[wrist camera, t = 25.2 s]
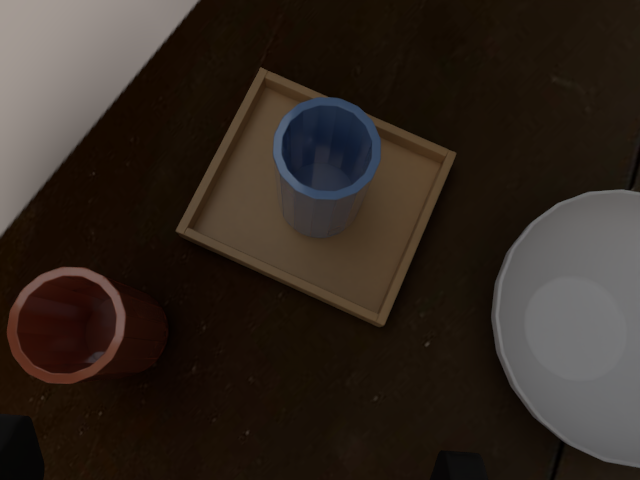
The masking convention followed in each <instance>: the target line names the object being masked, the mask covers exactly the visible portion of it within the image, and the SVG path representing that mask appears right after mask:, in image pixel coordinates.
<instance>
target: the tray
mask: <svg viewBox="0 0 640 480" xmlns="http://www.w3.org/2000/svg"><path fill="white" fill-rule="evenodd" d="M317 97H318V98H319V97H327V96H325V95H322V94H320V93H318V92H315V91H313V90H311V89H309V88H306V87H304V86H302V85H299V84H297V83H295V82H293V81H290V80H288V79H286V78H283V77H281V76H279V75H277V74H274V73H272V72H270V71H268V70H265V69H263V68H260V70H259V72H258V74H257V75H256V77H255V79H254V81H253V83H252V85H251V87H250V89H249V91H248V93H247V95H246V97H245V99H244V100H243V102H242V104H241V106H240V108H239V110H238V112H237V114H236V116H235V118H234V120H233V122H232V123H231V125H230V127H229V129H228V131H227V133H226V135H225V137H224V139H223V141H222V143H221V145H220V147H219V148H218V150H217V152H216V154H215V156H214V158H213V160H212V162H211V164H210V166H209V168H208V170H207V172H206V173H205V175H204V177H203V179H202V181H201V183H200V185H199V187H198V189H197V191H196V193H195V195H194V196H193V198H192V200H191V202H190V204H189V206H188V208H187V210H186V212H185V214H184V216H183V218H182V220H181V221H180V223H179V225H178V227H177V229H176V232H177V233H178V234H179V235H180V236H181V237H182V238H184V239H186V240H188V241H191V242H193V243H195V244H197V245H199V246H202V247H204V248H206V249H208V250H210V251H213V252H215V253H217V254H219V255H221V256H224V257H226V258H228V259H230V260H232V261H235V262H237V263H239V264H241V265H243V266H246V267H248V268H250V269H252V270H254V271H257V272H259V273H261V274H263V275H265V276H268V277H270V278H272V279H274V280H276V281H279V282H281V283H283V284H285V285H287V286H290V287H292V288H294V289H296V290H298V291H301V292H303V293H305V294H307V295H309V296H311V297H314V298H316V299H318V300H320V301H322V302H325V303H327V304H329V305H331V306H333V307H336V308H338V309H340V310H342V311H344V312H347V313H349V314H351V315H353V316H355V317H358V318H360V319H362V320H364V321H366V322H369V323H371V324H373V325H375V326H377V327H382V326H384V325H385V323H386V320H387V318H388V316H389V313H390V311H391V309H392V306H393V304H394V301H395V299H396V297H397V294H398V292H399V290H400V287H401V285H402V282H403V280H404V278H405V275H406V273H407V271H408V268H409V266H410V263H411V261H412V259H413V256H414V254H415V251H416V249H417V247H418V244H419V242H420V240H421V237H422V235H423V232H424V230H425V228H426V225H427V223H428V221H429V218H430V216H431V213H432V211H433V209H434V206H435V204H436V202H437V199H438V197H439V194H440V192H441V190H442V187H443V185H444V183H445V180H446V178H447V175H448V173H449V171H450V168H451V166H452V164H453V161H454V159H455V156H456V153H455V152H453V151H450V150H448V149H446V148H444V147H441V146H439V145H437V144H434V143H432V142H430V141H428V140H425V139H423V138H421V137H418V136H416V135H414V134H412V133H409V132H407V131H405V130H402V129H400V128H398V127H396V126H393V125H391V124H389V123H386V122H384V121H382V120H380V119H377V118H375V117H373V116H370V115H368V114H366V113H365V114H366V115H367V116H368V117H369V118H370V119H371V120H372V121H373V122H374V124H375V127H376V129H377V132H378V134H379V136H380V139H381V160H380V163H379V166H378V168H377V170H376V173H375V175H374V177H373V179H372V182H371V184H370V186H369V189H368V191H367V193H366V195H365V198H364V200H363V202H362V205H361V207H360V209H359V211H358V214H357V216H356V218H355V220H354V221H353V222H352V224H351V225H350V226H349V227H348V228H347V229H345V230H344V231H342V232H341V233H339V234H337V235H335V236H331V237H327V238H312V237H308V236H305V235H303V234H301V233H299V232H297V231H296V230H294V229H293V228H292V227H291V226H290V225H289V224H288V223H287V222H286V220H285V219H284V217H283V215H282V213H281V210H280V207H279V204H278V197H277V188H276V179H275V170H274V161H273V139H274V134H275V132H276V130H277V128H278V126H279V124H280V122H281V120H282V118H283V117H284V116H285V115H286V114H287V113H288V112H289V111H290V110H292V109H293V108H294V107H295V106H296V105H298V104H299V103H302V102H305V101H308V100H311V99H314V98H317ZM327 98H329V97H327Z"/></svg>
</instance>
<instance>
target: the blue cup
mask: <svg viewBox="0 0 640 480" xmlns="http://www.w3.org/2000/svg"><path fill="white" fill-rule="evenodd" d="M380 160H381V139H380V136H379V134H378V132H377V129H376V127H375V124H374V122H373V121H372V120H371V119H370V118H369V117H368V116H367V115H366V114H365V113H364V112H363V111H362V110H361V109H360V108H359V107H358V106H356V105H354V104H352V103H349V102H347V101H345V100H342V99H339V98H327V97H319V98H318V97H317V98H314V99H311V100H308V101H305V102H302V103H299V104H298V105H296V106H295V107H294V108H293V109H292V110H290V111H289V112H288V113H287V114H286V115H285V116H284V117H283V118H282V120H281V122H280V124H279V126H278V128H277V130H276V132H275V134H274V139H273V161H274V170H275V179H276V188H277V197H278V204H279V207H280V210H281V213H282V215H283V217H284V219H285V220H286V222H287V223H288V224H289V225H290V226H291V227H292V228H293V229H294V230H296V231H297V232H299V233H301V234H303V235H305V236H308V237H312V238H327V237H331V236H335V235H337V234H339V233H341V232H342V231H344V230H345V229H347V228H348V227H349V226H350V225H351V224H352V222H353V221H354V220H355V218H356V216H357V214H358V211H359V209H360V207H361V205H362V202H363V200H364V198H365V195H366V193H367V191H368V189H369V186H370V184H371V182H372V179H373V177H374V175H375V173H376V170H377V168H378V166H379V163H380Z"/></svg>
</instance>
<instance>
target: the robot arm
mask: <svg viewBox="0 0 640 480" xmlns="http://www.w3.org/2000/svg"><path fill="white" fill-rule="evenodd" d="M43 477H44V461H43V457H42V454H41V450H40V447H39V443H38V440H37V436H36V433H35V429H34V426H33V422H32V420H31V418H30V417H29V416H21V415H9V414H0V480H43ZM430 480H488V478H487V474H486V470H485V466H484V462H483V459H482V457H481V456H480V454H478V453H467V452H455V451H440V452H439V454H438V457H437V460H436V463H435V466H434V469H433V472H432V475H431V478H430Z"/></svg>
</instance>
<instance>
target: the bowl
mask: <svg viewBox="0 0 640 480" xmlns="http://www.w3.org/2000/svg"><path fill="white" fill-rule="evenodd" d="M491 320H492V326H493V333H494V340H495V347H496V353H497V355H498V358H499V360H500V362H501V365H502V367H503V370H504V372H505V374H506V377H507V379H508V381H509V384H510V386H511V388H512V389H513V390H514V392H515V393H516V394H517V396H518V397H519V398H520V400H521V401H522V402H523V404H524V405H525V407H526V408H527V409H528V411H529V412H530V413H531V415H532V416H533V417H534V418H535V419H536V420H538V421H539V422H540V423H541V424H542V425H544V426H545V427H546V428H547V429H548V430H550V431H551V432H552V433H553V434H554V435H556V436H557V437H558V438H559V439H560V440H562V441H563V442H565V443H566V444H568V445H570V446H572V447H574V448H576V449H578V450H581V451H583V452H585V453H587V454H589V455H591V456H594V457H596V458H598V459H600V460H602V461H604V462H610V463H615V464H621V465H627V466H633V467H638V468H640V193H639V192H633V191H628V190H608V191H595V192H587V193H584V194H581V195H579V196H576V197H573V198H571V199H568V200H565V201H562V202H560V203H557V204H556V205H555V206H553V207H552V208H550V209H549V210H548V211H546V212H545V213H544V214H542V215H541V216H539V217H538V218H537V219H535V220H534V221H533V222H531V223H530V224H529V225H528V226H527V227H526V228H525V230H524V231H523V232H522V234H521V235H520V236H519V237H518V239H517V240H516V241H515V243H514V244H513V245H512V246H511V248H510V249H509V250H508V252H507V253H506V256H505V258H504V261H503V263H502V266H501V269H500V271H499V274H498V276H497V279H496V281H495V286H494V295H493V304H492V314H491Z"/></svg>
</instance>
